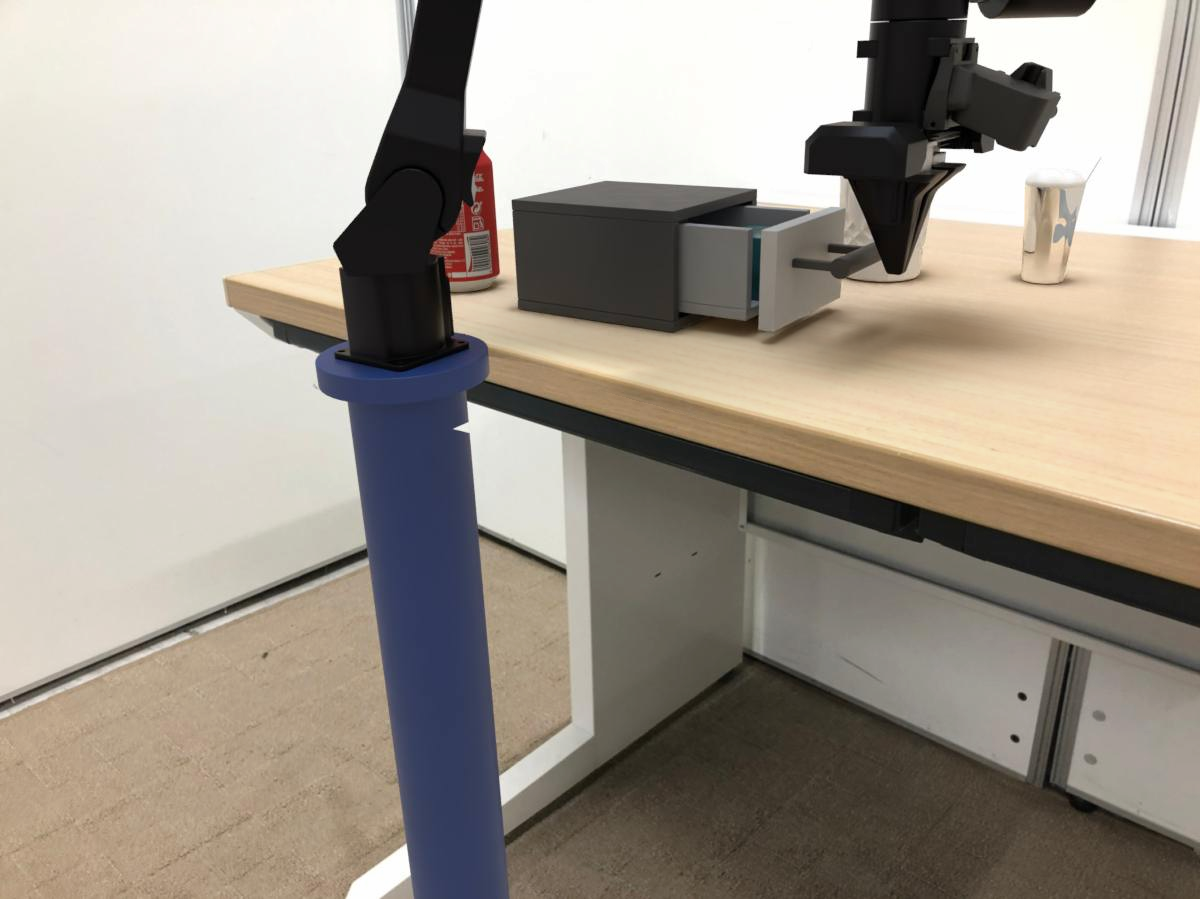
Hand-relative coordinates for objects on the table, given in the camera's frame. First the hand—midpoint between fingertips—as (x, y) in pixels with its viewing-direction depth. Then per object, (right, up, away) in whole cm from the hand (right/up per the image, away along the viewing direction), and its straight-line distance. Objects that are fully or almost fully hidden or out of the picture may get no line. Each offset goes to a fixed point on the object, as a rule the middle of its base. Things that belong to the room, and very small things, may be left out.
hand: (895, 273), depth 66 cm
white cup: (+5, +3, +20) cm, 21 cm away
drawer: (-9, -1, +7) cm, 11 cm away
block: (-8, 0, +6) cm, 10 cm away
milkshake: (+18, +2, +16) cm, 24 cm away
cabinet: (-17, 0, +13) cm, 21 cm away
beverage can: (-32, +2, +21) cm, 38 cm away
